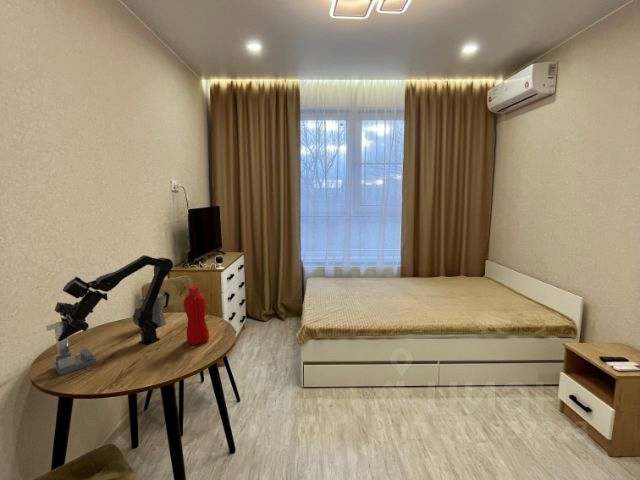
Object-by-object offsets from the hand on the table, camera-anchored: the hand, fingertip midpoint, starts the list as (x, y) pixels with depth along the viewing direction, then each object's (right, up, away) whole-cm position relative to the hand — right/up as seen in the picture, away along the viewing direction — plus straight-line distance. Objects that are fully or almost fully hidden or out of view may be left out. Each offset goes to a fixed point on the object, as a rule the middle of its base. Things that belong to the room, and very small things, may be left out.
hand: (57, 339), depth 132 cm
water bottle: (+46, -8, +23) cm, 52 cm away
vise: (+3, -12, +5) cm, 13 cm away
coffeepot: (+17, -6, +47) cm, 50 cm away
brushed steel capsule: (0, -6, +1) cm, 6 cm away
